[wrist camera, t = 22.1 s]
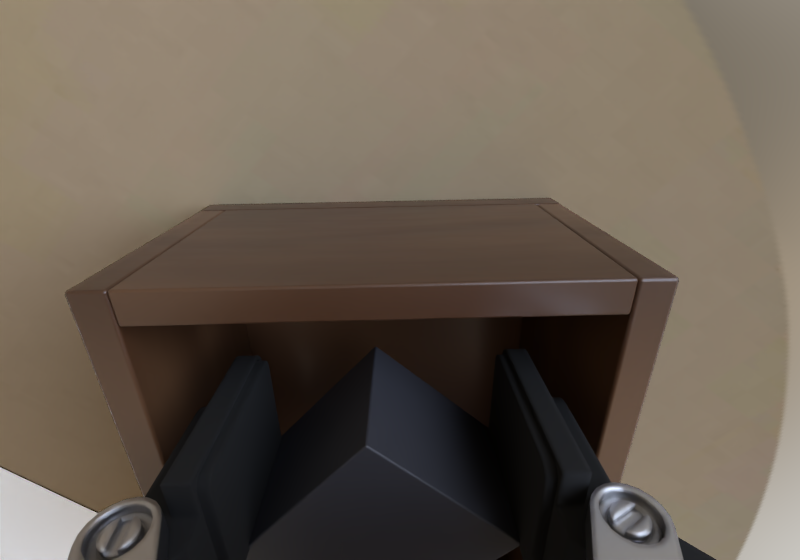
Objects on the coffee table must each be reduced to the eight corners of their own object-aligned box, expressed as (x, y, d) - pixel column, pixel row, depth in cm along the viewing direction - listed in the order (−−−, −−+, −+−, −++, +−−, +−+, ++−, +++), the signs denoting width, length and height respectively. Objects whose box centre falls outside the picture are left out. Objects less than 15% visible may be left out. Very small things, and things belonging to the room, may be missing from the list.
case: (210, 204, 14) (61, 291, 8) (551, 197, 14) (682, 277, 8) (274, 517, 20) (222, 704, 14) (508, 509, 20) (561, 691, 14)
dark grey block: (240, 474, 12) (191, 592, 10) (375, 345, 10) (366, 446, 7) (352, 535, 14) (339, 655, 11) (493, 430, 12) (523, 544, 9)
